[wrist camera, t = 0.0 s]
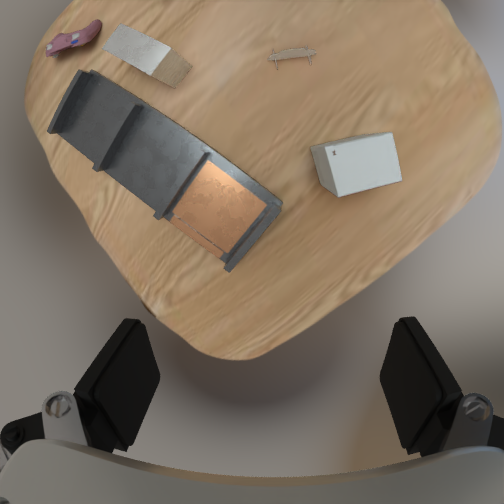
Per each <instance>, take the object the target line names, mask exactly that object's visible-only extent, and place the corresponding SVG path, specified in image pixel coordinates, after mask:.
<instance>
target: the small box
mask: <svg viewBox="0 0 504 504" xmlns="http://www.w3.org/2000/svg"><path fill="white" fill-rule="evenodd" d="M310 149H311V152H312V155H313V159H314V162H315V166H316V170H317V173H318V177H319V180H320V184H321V185H322V186H323V187H325V188H326V189H327V190H329V191H330V192H331V193H333V194H334V195H336V196H337V197H338V198H339V197H343V196H347V195H351V194H354V193H358V192H362V191H366V190H369V189H373V188H377V187H381V186H385V185H389V184H393V183H397V182H401V181H402V176H401V171H400V165H399V161H398V156H397V151H396V147H395V142H394V138H393V134H392V132H383V133H373V134H363V135H358V136H354V137H349V138H345V139H341V140H336V141H332V142H328V143H324V144H320V145H316V146H312V147H310Z"/></svg>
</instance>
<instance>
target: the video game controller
mask: <svg viewBox="0 0 504 504" xmlns="http://www.w3.org/2000/svg"><path fill="white" fill-rule="evenodd" d="M101 25H102V23H101V21H100V20H94V21H93V22H92V23H91V24H90V25H89V26H87V27H86V28H84V29H82V30H79V31H75V32H73V33H69V34H63V33H60V34H58V35H57V36H56V37H55V38H54V39H53V40H52V41H51V42H50V43H48V44H47V47H46V57H48V56H54V57H53V58H56V57H58V56H59V55H58V54H59V53H60V52H61V51H63V50H66V49H69V48H71V47H75V46H83V45H85V43H87V42H89V41H91V40H92V39H93V38H94V37H95V36H96V35H97V33H98V32H99V30H100V28H101Z"/></svg>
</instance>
